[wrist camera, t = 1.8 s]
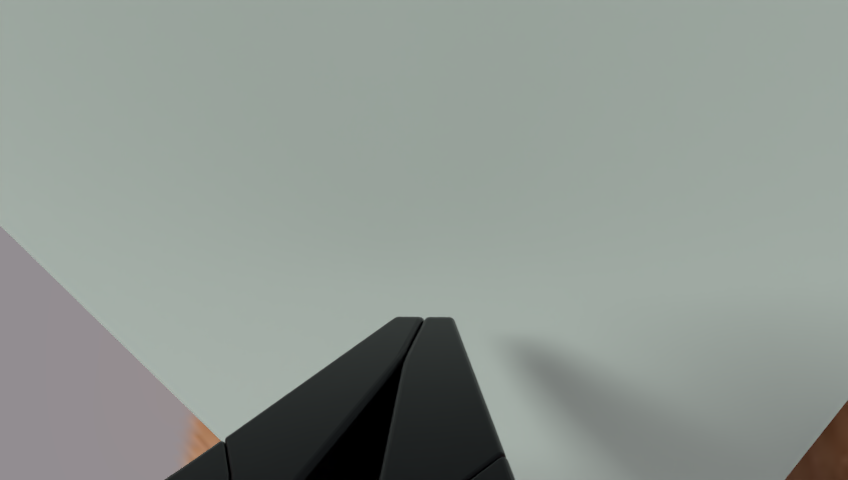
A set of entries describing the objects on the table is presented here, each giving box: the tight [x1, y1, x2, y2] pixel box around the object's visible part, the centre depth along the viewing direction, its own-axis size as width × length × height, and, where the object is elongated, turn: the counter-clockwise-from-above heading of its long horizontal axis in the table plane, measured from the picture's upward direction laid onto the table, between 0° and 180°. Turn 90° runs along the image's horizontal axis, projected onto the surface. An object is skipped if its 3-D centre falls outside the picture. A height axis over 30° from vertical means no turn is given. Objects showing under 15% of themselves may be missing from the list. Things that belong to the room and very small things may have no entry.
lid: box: [0, 0, 848, 480], centre depth 12 cm, size 14×16×1 cm
